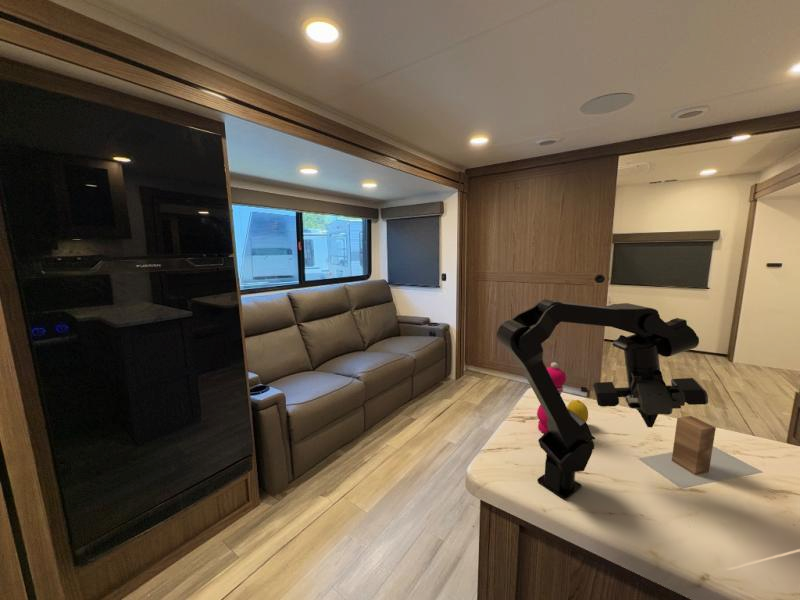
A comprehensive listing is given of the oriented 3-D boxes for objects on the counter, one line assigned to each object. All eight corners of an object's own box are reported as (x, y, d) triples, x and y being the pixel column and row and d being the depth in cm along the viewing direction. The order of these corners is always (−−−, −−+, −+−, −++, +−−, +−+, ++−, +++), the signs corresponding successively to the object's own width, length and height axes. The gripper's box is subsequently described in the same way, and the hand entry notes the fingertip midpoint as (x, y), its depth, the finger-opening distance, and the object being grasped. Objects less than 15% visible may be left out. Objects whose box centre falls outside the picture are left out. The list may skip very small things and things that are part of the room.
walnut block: (694, 475, 71) (701, 429, 69) (671, 460, 76) (677, 417, 74) (708, 472, 71) (715, 427, 70) (685, 458, 76) (691, 415, 75)
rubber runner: (680, 489, 67) (681, 488, 67) (637, 459, 77) (637, 458, 77) (762, 473, 71) (763, 471, 71) (711, 446, 81) (711, 445, 81)
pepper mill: (561, 441, 84) (566, 369, 81) (533, 431, 89) (537, 363, 85) (566, 428, 90) (571, 361, 87) (539, 420, 94) (543, 356, 91)
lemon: (567, 419, 95) (569, 394, 94) (588, 425, 92) (590, 399, 90) (563, 427, 91) (564, 401, 90) (585, 434, 87) (587, 406, 86)
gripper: (598, 385, 63) (608, 451, 66) (721, 380, 55) (726, 454, 59) (588, 359, 73) (597, 417, 76) (691, 351, 65) (696, 417, 68)
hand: (649, 426), depth 70 cm, fingers closed
